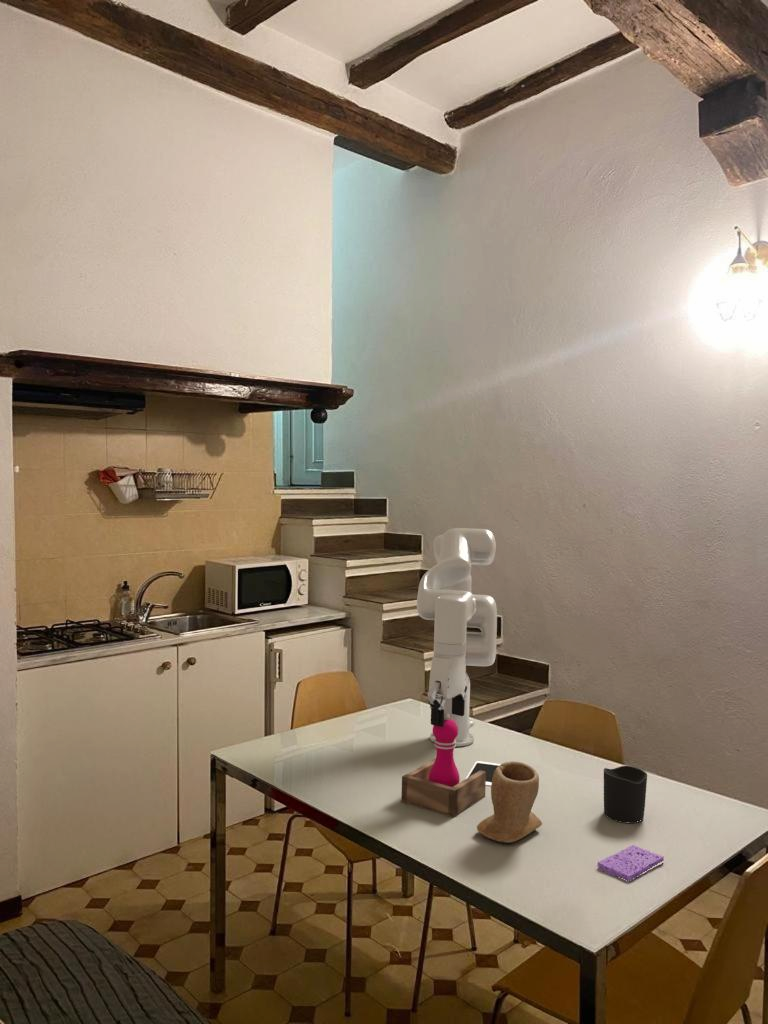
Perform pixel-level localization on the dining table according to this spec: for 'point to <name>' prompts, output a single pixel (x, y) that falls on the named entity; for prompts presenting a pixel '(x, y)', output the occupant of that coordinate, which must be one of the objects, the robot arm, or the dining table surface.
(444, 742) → the pepper mill
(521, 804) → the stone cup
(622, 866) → the sponges
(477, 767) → the cell phone
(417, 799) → the holder
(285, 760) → the dining table surface
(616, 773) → the pen holder
